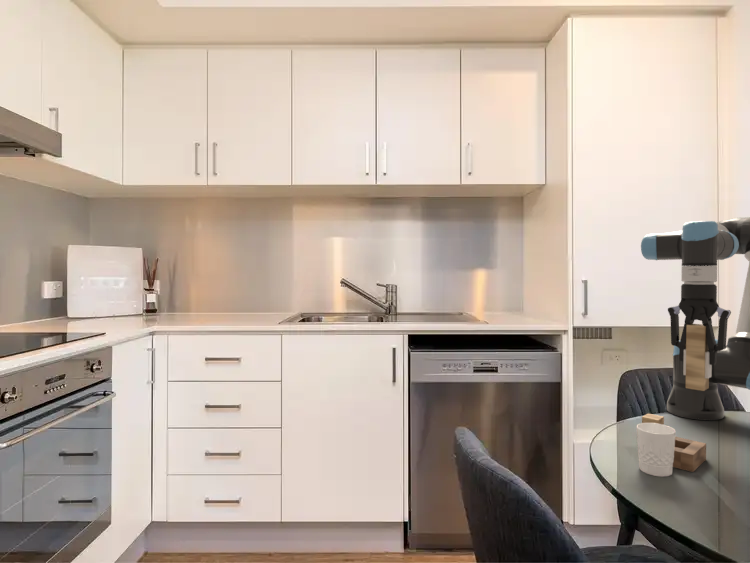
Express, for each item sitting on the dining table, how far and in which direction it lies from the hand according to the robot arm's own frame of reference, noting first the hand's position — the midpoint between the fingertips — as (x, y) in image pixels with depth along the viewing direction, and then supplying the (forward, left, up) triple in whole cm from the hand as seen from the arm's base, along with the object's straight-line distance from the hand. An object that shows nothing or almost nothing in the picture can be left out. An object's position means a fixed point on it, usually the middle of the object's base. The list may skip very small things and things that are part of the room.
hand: (697, 375), depth 127 cm
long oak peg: (0, 0, -3) cm, 3 cm away
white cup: (+20, -3, -19) cm, 28 cm away
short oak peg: (+2, -10, -19) cm, 22 cm away
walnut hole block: (+10, -2, -19) cm, 22 cm away
